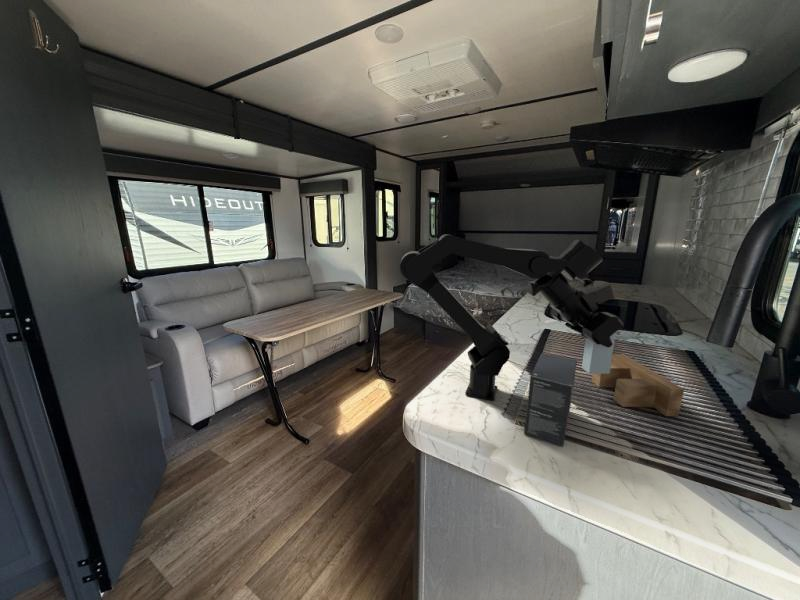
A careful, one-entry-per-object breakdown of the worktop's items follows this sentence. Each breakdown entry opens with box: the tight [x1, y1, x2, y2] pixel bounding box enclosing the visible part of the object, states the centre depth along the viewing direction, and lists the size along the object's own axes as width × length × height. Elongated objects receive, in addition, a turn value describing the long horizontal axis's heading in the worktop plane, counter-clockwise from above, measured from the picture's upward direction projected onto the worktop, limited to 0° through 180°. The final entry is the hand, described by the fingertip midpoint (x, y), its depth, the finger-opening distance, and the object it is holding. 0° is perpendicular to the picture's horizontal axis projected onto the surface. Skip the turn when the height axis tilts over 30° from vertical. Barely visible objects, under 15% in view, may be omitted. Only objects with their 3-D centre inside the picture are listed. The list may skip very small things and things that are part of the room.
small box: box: [523, 352, 578, 447], centre depth 60 cm, size 13×7×12 cm, turn 148°
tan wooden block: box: [591, 353, 685, 417], centre depth 72 cm, size 9×18×6 cm, turn 179°
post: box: [581, 331, 617, 375], centre depth 70 cm, size 4×3×12 cm, turn 89°
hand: (605, 343), depth 70 cm, fingers closed on post, 3 cm apart
